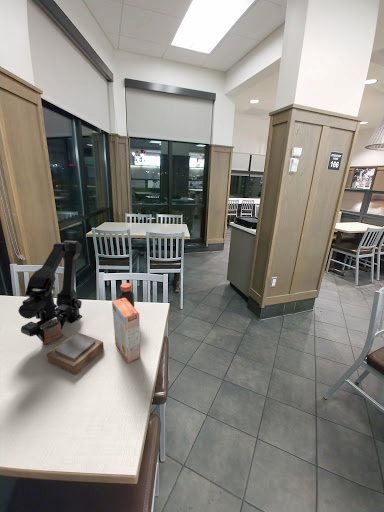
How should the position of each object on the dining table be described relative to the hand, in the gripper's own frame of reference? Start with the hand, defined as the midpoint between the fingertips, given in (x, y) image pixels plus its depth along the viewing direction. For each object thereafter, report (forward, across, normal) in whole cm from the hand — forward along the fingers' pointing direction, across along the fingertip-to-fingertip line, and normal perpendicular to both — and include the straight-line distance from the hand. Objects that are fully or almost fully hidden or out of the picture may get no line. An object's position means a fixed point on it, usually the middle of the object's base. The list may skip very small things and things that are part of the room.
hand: (52, 335), depth 95 cm
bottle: (+3, -25, +20) cm, 32 cm away
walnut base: (+3, +2, +16) cm, 16 cm away
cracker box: (+3, -9, +32) cm, 33 cm away
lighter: (+3, 0, 0) cm, 3 cm away
